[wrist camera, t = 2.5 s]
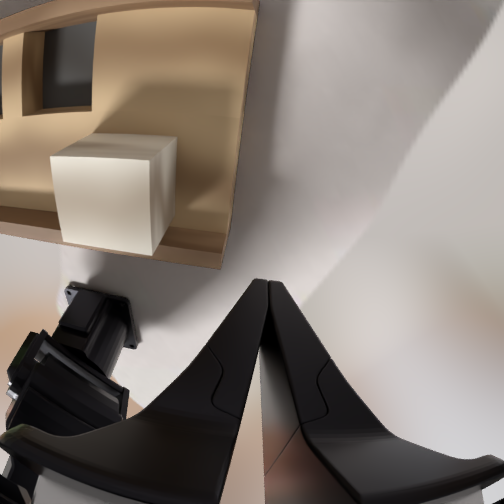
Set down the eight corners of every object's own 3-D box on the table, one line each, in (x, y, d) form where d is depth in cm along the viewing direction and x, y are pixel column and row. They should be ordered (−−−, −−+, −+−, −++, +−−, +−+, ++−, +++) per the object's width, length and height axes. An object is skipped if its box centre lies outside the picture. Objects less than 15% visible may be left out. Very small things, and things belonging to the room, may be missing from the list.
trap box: (230, 227, 20) (220, 269, 16) (-28, 197, 20) (-59, 221, 16) (259, 2, 12) (255, -19, 9) (-42, 52, 12) (-79, 63, 8)
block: (175, 215, 17) (152, 255, 14) (97, 206, 17) (63, 241, 14) (177, 136, 15) (149, 160, 11) (92, 133, 14) (49, 156, 11)
